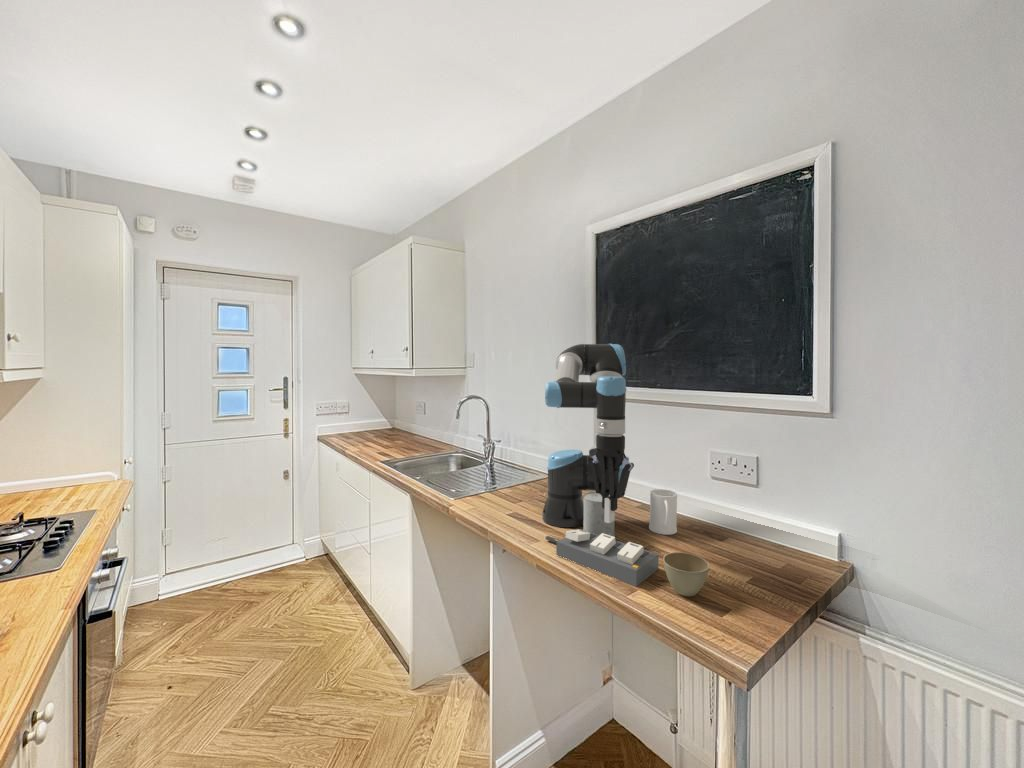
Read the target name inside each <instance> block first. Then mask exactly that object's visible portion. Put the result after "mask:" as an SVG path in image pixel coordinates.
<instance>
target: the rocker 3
mask: <svg viewBox="0 0 1024 768" xmlns="http://www.w3.org/2000/svg"><path fill="white" fill-rule="evenodd" d="M625 544H626V545H625V546H624V547H623V548H622V549H621V550H620V551H619V552H618V553H617V557H618V560H620V561H623V562H625V563H628V564H631V565H633V564H634V563H635V561H636V560H637V559H638V558H639V557H640V556H641V555H642V554H643V553H644V550H645V549H644V546H643V545H641V544H637V543H634V542H631V541H628V542H627V543H625ZM643 549H644V550H643Z"/></svg>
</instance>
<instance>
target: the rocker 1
mask: <svg viewBox="0 0 1024 768" xmlns="http://www.w3.org/2000/svg"><path fill="white" fill-rule="evenodd" d="M582 530H583V529H572V530H566V531H565V536H564V538H568V539H571V540H574V541H577V542H579V541H585V540H590V533H588V532H585V531H582Z"/></svg>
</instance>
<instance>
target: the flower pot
mask: <svg viewBox="0 0 1024 768" xmlns="http://www.w3.org/2000/svg"><path fill="white" fill-rule="evenodd" d="M662 559H663V560H662V561H663V562H662V563H663V567H664V572H665V574H666V577H667V580H668V582H669V584H670V585H671V587H672V589H673V591H674V592H675V593H677V594H678V595H680V596H683V597H694V596H696V595H697V594H698V593H699V592H700V591H701V589H702V588H703V586H704V584H705V582H706V580H707V577H708V574H709V570H710V564H709V562H708V561H707V560H706V559H705V558H703V557H701V556H699V555H696V554H694V553H689V552H682V551H681V552H680V551H673V552H669V553H667V554H665V555H664V556H663V558H662Z"/></svg>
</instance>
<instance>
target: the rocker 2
mask: <svg viewBox="0 0 1024 768" xmlns="http://www.w3.org/2000/svg"><path fill="white" fill-rule="evenodd" d="M615 540H616V537H613V536H610V535H607V534H603V533H602V534H601V535H599V536H598V537H597V538H596V539H595V540H594V541H593V542H592V543H591V544H590V548H591V551H594V552H597V553H600V554H603V555H604V554H605V553H606V552H607V551H608V550H609V549H610V548H611V547H612V546H613V545H614V544H615V543H616V541H617V540H616V541H615Z"/></svg>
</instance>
